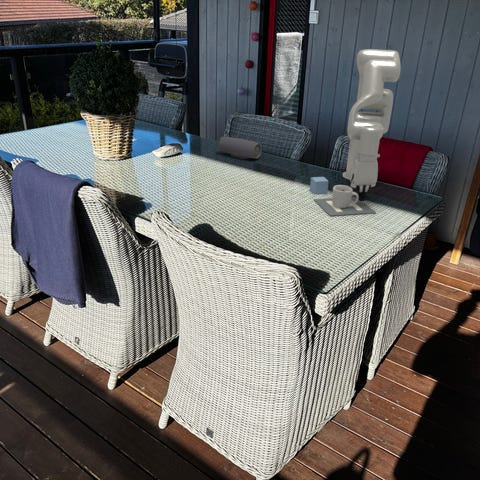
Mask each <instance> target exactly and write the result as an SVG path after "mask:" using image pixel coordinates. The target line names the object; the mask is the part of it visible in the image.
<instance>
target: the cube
mask: <svg viewBox="0 0 480 480" xmlns="http://www.w3.org/2000/svg"><path fill="white" fill-rule="evenodd" d="M309 187H310V188H309V191H310V192H312V193H313V194H314V195H327V194H328V190H329V189H328V188H329V180H328V179H327V178H326V177H325V176H313V177H310V183H309Z"/></svg>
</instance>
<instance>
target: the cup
mask: <svg viewBox="0 0 480 480" xmlns="http://www.w3.org/2000/svg"><path fill="white" fill-rule="evenodd" d="M351 197H356V200H355V201H352V199H351ZM332 198H333V205H334V206H335V207H337V208H346V207H348V205H349V204H350V203H353V204H354V203H356V202H357V201H358V198H359V196H358V192H355V191H353V187H351V186H349V185H344V184H336V185H334V186H333V188H332Z"/></svg>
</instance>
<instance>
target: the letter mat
mask: <svg viewBox="0 0 480 480" xmlns="http://www.w3.org/2000/svg"><path fill="white" fill-rule="evenodd" d="M351 199H352V201H355V200H356V196H352V197H351ZM313 201H314V203H316V204H317V205H318V206H319V207H320V208H321V210H323V211H324V212H325V213H326V214H327V215H328V216H329V217H343V216H345V217H346V216H357V215H358V216H359V215H360V216H361V215H372V214H373V215H375V214H377V212H376V211H375V210H374V209H373V208H372V207H370V206H369V205H367V204H366V202H364V201H360V200H358V201H357V202H356V203H354V204H353V203H350V204H349V205H348V207H346V208H337V207H335V206H334V205H333V197H330V198H314V199H313Z"/></svg>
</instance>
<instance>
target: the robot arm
mask: <svg viewBox="0 0 480 480" xmlns="http://www.w3.org/2000/svg"><path fill="white" fill-rule="evenodd" d="M356 65H357V70H358V73H359V80H358V81H359V82H358V90H357V95H356V96H357V97H356V102H355V103H354V104H353V105H352V107H351V109H350V110H349V111H350V112H349V114H348V122H347V133H346V134H347V137H348V139H349V148H348V153H347V154H348V155H347V164H346V171H343V173H342V177H343V178H344V179H346V180H349V181H350V186H349V187H351V188H352V189H353V188H354V189H356V190H357V194H358V196H359V198H358V200H360V201H363V202H364V201H365V199H366V197H367V192H368V190H370V188H373V187H375V186H376V183H377V180H378V174H379V173H378V172H379V166H378V165H379V163H378V158H380V156H381V154H380V153H378V152H379V146H380V140H381V138H382V137H383V134H386V133H387V132H388V131H389V126H390V122H391V117H392V116H391V115H392V109H393V105H394V103H393V102H394V92H393V91H392V90H391V89H390V88H389V89H388V88H384V85H385V83H387V82H388V83H396V82H398V80H399V79H400V75H401V70H402V69H401V68H402V67H401V59H400V53H399V52H398V51H397V50H393V49H378V48H377V49H375V48H369V49H367V48H366V49H361V50H359V51H358V53H357V56H356ZM360 110H370V111H360ZM372 111H373V112H372ZM374 111H380V112H374Z"/></svg>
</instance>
